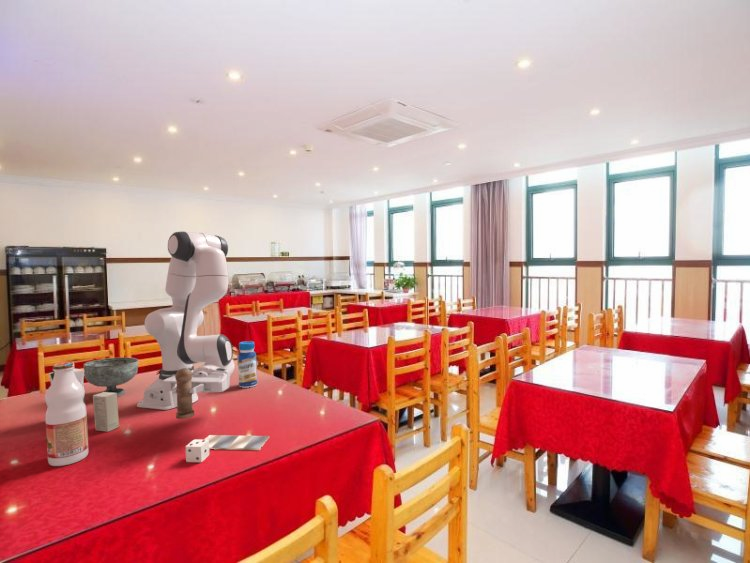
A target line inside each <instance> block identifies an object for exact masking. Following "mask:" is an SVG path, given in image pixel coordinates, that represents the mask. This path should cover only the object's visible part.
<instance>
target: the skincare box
mask: <svg viewBox="0 0 750 563" xmlns="http://www.w3.org/2000/svg"><path fill="white" fill-rule="evenodd" d="M101 392H102V393H101ZM101 392H99V393H96V394H93V395H92V401H93V413H94V414H93V416H94V426H95V431H101V432H111V431H114V430H116V429H117V428H119V427H120V419H119V409H118V408H119V406H118V397H117V393H113V392H103V391H101Z"/></svg>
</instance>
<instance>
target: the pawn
mask: <svg viewBox="0 0 750 563" xmlns="http://www.w3.org/2000/svg"><path fill="white" fill-rule="evenodd" d="M175 378H176V381H177V407H176V411H177V412H176V413H175V418H176V419H178V420H184V419H189V418H192V417H194V415H195V410H194V409H193V403H192V394H189V392H190V391H189V389H190V388H191V387H192V380H191V379H192V372H191V371H190V370H189V369H187V368H182V369H180V370H178V371H177V373H176V375H175Z"/></svg>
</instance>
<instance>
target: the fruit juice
mask: <svg viewBox="0 0 750 563" xmlns="http://www.w3.org/2000/svg"><path fill="white" fill-rule="evenodd" d="M75 366H76V365H75V362H74V361H64V362H58V363H55V364H53V365H52V372H53V371H54V372H55V373H54V378H53V381H52V384H51V383H50V386H49V387H48V388H47V390H46V392H45V395H44V401H45V403H46V406H47V408H46V411H45V419H44V420H45V421H44V422H45V430H46V432H45V433H46V448H47V449H46V450H47V453H46V454H47V462H48V465H50V466H51V467H62V466H68V465H71V464H75V463H78V462H80V461H82V460H83V459H85V458H86V457H87V456H88V454H89V450H90V449H89V433H88V432H89V430H88V415H87V414H88V413H87V411H88V410H87V406H86V403H85V404H84V402H85V401H84V402H83V399H84V400H85V394H86V391H85V386H84V387H83V385H82V384H81V383H80V382H79V381H78V380H77V378H76V376H75V374H74V371H73V369H75Z"/></svg>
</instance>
